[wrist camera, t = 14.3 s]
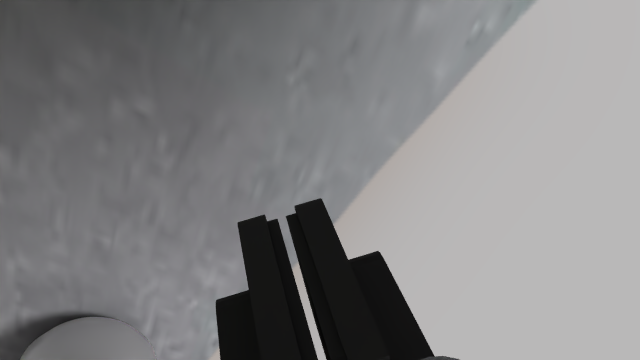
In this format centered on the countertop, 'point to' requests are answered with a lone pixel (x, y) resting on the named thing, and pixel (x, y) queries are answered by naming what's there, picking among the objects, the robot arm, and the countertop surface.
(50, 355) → the plastic bottle
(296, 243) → the robot arm
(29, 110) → the countertop surface
